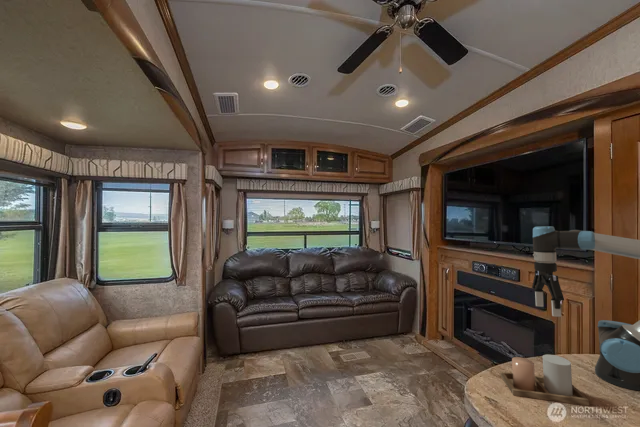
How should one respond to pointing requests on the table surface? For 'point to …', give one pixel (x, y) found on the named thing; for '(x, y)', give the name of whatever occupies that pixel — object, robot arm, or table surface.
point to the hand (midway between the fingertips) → (547, 311)
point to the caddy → (544, 391)
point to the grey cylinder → (557, 375)
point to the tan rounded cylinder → (523, 374)
